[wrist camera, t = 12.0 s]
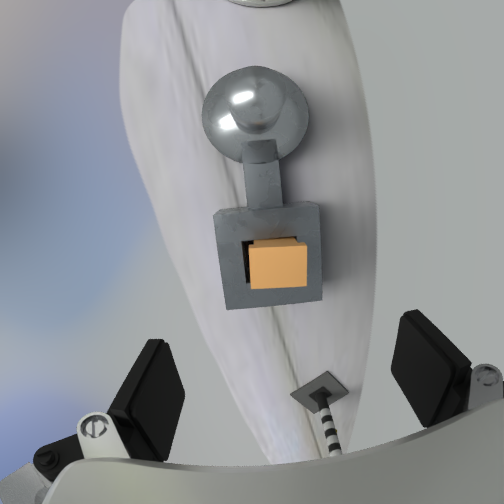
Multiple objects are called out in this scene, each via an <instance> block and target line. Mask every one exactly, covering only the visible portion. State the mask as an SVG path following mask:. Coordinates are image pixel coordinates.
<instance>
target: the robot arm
mask: <svg viewBox="0 0 504 504" xmlns="http://www.w3.org/2000/svg"><path fill="white" fill-rule="evenodd" d="M229 1H231V2H234V3H237V4H240V5H246V6H254V7H269V6H277V5H281V4H285V3H287V2H290V1H292V0H229ZM471 364H472V363H471V361H470V360H469V359H468V358H467V357H466V356H465V355H464V354H463V353H462V352H461V351H460V350H459V349H458V348H457V347H456V346H455V345H454V344H453V343H452V342H451V341H450V340H449V339H448V338H447V337H446V336H445V335H444V334H443V333H442V332H441V331H440V330H439V329H438V328H437V327H436V326H435V325H434V324H433V323H432V322H431V321H430V320H429V319H428V318H426V317H425V316H424V315H423V314H422V313H421V312H420V311H419V310H418V309H416V310H411V311H407V312H405V313H404V314H403V316H402V317H401V318H400V323H399V329H398V335H397V340H396V345H395V350H394V355H393V360H392V365H391V372H392V374H393V376H394V378H395V380H396V381H397V383H398V385H399V386H400V388H401V390H402V391H403V393H404V395H405V396H406V398H407V400H408V402H409V403H410V405H411V407H412V408H413V410H414V412H415V414H416V415H417V417H418V419H419V420H420V423H421V424H422V425H423V427H427V429H424V430H422V431H419V432H417V433H414V434H411V435H409V436H406V437H403V438H400V439H397V440H394V441H391V442H388V443H385V444H381V445H378V446H375V447H371V448H367V449H363V450H360V451H356V452H352V453H347V454H343V455H338V456H333V457H328V458H322V459H316V460H310V461H303V462H296V463H287V464H276V465H264V466H242V467H241V466H236V467H235V466H234V467H227V466H226V467H225V466H224V467H223V466H198V465H182V464H172V463H163V461H167V460H168V457H169V454H170V450H171V446H172V442H173V439H174V435H175V431H176V427H177V424H178V420H179V417H180V413H181V410H182V406H183V402H184V399H185V391H184V388H183V385H182V382H181V380H180V377H179V374H178V371H177V368H176V365H175V362H174V359H173V356H172V353H171V350H170V346H169V344H168V343H165V342H164V340H163V339H149V340H148V341H147V343H146V344H145V346H144V348H143V349H142V351H141V353H140V355H139V356H138V358H137V360H136V361H135V363H134V365H133V367H132V368H131V370H130V372H129V373H128V375H127V377H126V379H125V381H124V382H123V384H122V386H121V388H120V389H119V391H118V393H117V395H116V397H115V398H114V400H113V402H112V404H111V406H110V408H109V410H108V411H107V413H103V412H92V413H89V414H87V415H85V416H84V417H83V418H81V419H80V421H79V422H78V425H77V434H74V435H72V436H69V437H67V438H64V439H62V440H59V441H56V442H54V443H51V444H48V445H45V446H43V447H41V448H39V449H38V450H37V451H36V453H35V454H34V458H33V464H30V462H28V463H27V464H25V465H24V466H22V467H21V468H19V469H18V470H16V471H15V472H13V473H12V474H10V475H9V476H7V477H6V478H4V479H3V480H1V481H0V498H1V500H2V502H3V504H504V381H503V377H502V373H501V372H500V370H499V369H498V368H497V367H495V366H493V365H490V364H480V365H478V366H476V367H474V369H472V368H471V367H470V366H471Z"/></svg>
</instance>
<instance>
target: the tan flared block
mask: <svg viewBox="0 0 504 504" xmlns="http://www.w3.org/2000/svg"><path fill="white" fill-rule="evenodd" d="M249 262H250V280H251V289H265V288H284V287H302V286H307V245H306V244H305V242H301V243H298V242H297V241H296V239H295V238H294V237H293V236H290V237H280V238H269V239H259V240H254V245H249Z"/></svg>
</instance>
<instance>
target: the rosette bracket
mask: <svg viewBox="0 0 504 504" xmlns="http://www.w3.org/2000/svg"><path fill="white" fill-rule="evenodd" d="M308 120H309V112H308V106H307V102H306V99H305V97H304V95H303V93H302V91H301V90H300V89H299V87H298V86H297V85H296V84H295V83H294V82H293V81H292V80H291V79H289V78H288V77H287V76H285V75H283V74H282V73H279V72H277V71H275V70H272V69H269V68H266V67H262V66H249V67H245V68H242V69H239V70H236V71H233V72H231V73H229V74H227V75H225V76H224V77H222V78H221V79H220V80H218V81H217V82H216V83H215V84H214V85H213V87H212V88H211V89H210V91H209V92H208V94H207V96H206V98H205V100H204V104H203V108H202V123H203V127H204V131H205V133H206V135H207V137H208V139H209V140H210V142H211V143H212V145H213V146H214V147H215V148H216V149H217V150H218V151H219V152H221V153H222V154H223V155H225V156H226V157H228V158H230V159H232V160H234V161H237V162H239V163H243V169H244V178H245V187H246V197H247V206H248V207H241V208H231V209H223V210H219V211H218V212H216V213H215V214H214V215H213V219H214V227H215V234H216V242H217V249H218V256H219V263H220V270H221V277H222V284H223V291H224V297H225V303H226V310H232V309H245V308H256V307H267V306H277V305H286V304H296V303H304V302H313V301H321V300H322V259H321V234H320V215H319V205H317V204H314V203H312V202H309V201H306V202H294V203H283V201H282V190H281V179H280V169H279V159H281V158H283V157H285V156H286V155H288V154H289V153H290V152H292V151H293V150H294V149H295V148H296V147H297V146H298V144H299V143H300V142H301V140H302V139H303V137H304V135H305V133H306V130H307V126H308ZM290 236H293V237H294V238H295V239H296V241H297V242H298V243H301V242H305V244H306V245H307V286H302V287H284V288H265V289H251V280H250V268H247V261H246V252H245V243H244V241H249V240H259V239H269V238H280V237H290Z"/></svg>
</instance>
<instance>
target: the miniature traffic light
mask: <svg viewBox="0 0 504 504" xmlns="http://www.w3.org/2000/svg"><path fill="white" fill-rule="evenodd" d="M348 393H349V392H348V391H347V390H346V389H345V388H344V387H343V386H342V385H341V384H340V383H339V382H338V381H337V380H336V379H335V378H334V377H333V376H332V375H331V374H330V373H329V372H328V371H326V372H325V373H323V374H322V375H320V376H319V377H317V378H315V379H314V380H312V381H311V382H309V383H307V384H306V385H304V386H303V387H301V388H299V389H298V390H296V391H294V392H293V393H291V394H290V395H291V396H292V397H293V398H294V399H296V400H297V401H298V402H299V403H301V404H302V405H303V406H304V407H306V408H307V409H308V410H310V411H311V412H312V413H314V414H315V413H316V412H318V411H319V412H320V416H321V420H322V424H323V428H324V432H325V436H326V440H327V444H328V448H329V452H330V457H333V456H338V455H342V451H341V447H340V443H339V440H338V436H337V430H336V429H335V426H334V422H333V419H332V415H331V412H330V408H329V405H330V404H332V403H334V402H335V401H337V400H339V399H340V398H342V397H343V396H345V395H347V394H348Z"/></svg>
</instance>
